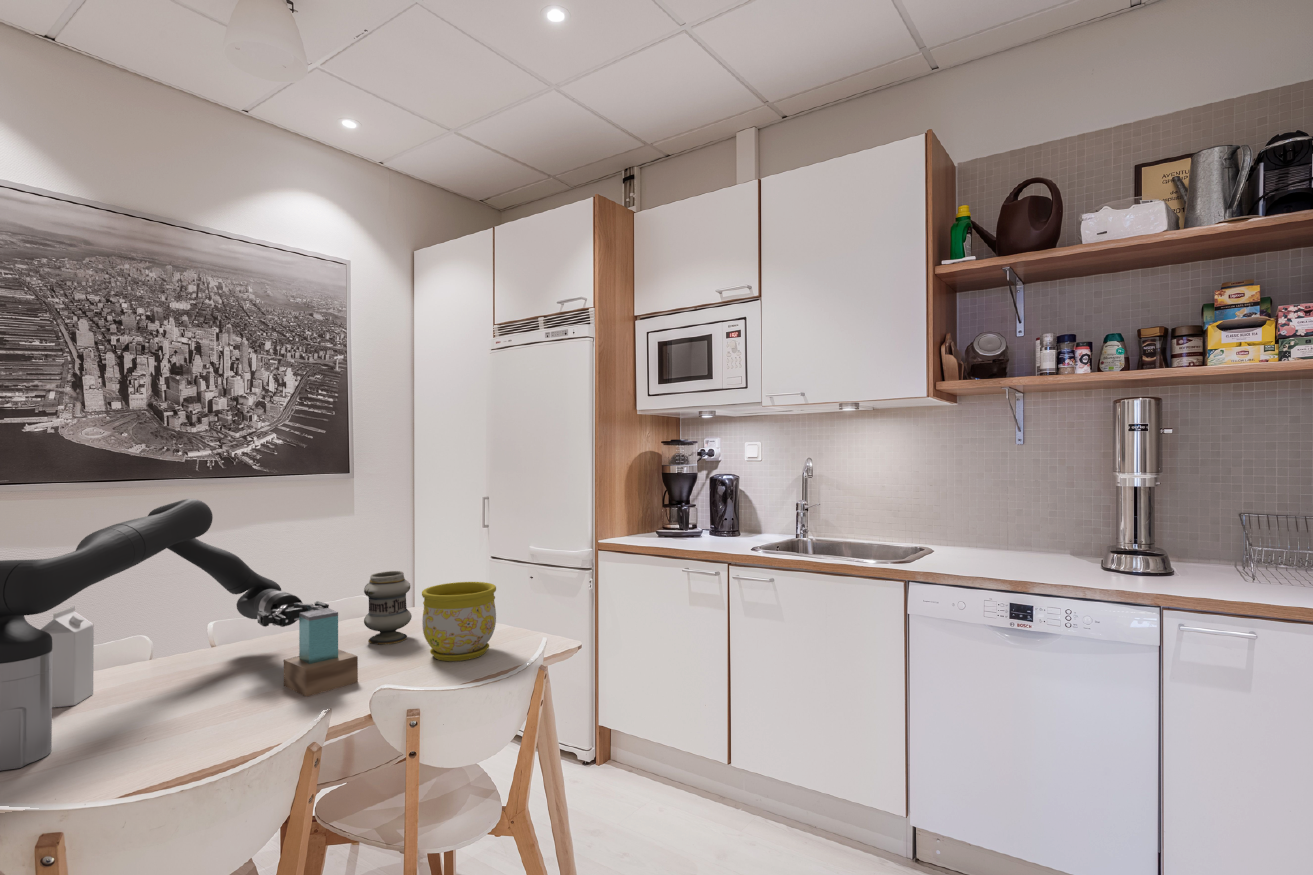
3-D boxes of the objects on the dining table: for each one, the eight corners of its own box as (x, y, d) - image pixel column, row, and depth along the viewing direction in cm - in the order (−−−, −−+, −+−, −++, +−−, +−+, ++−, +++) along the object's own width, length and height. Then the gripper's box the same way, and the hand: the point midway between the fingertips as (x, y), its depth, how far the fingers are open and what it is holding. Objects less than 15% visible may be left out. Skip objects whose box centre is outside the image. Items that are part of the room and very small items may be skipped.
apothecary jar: (353, 644, 176) (353, 576, 177) (382, 632, 188) (382, 568, 188) (393, 647, 173) (393, 578, 174) (420, 634, 185) (420, 570, 185)
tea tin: (338, 657, 146) (338, 612, 146) (309, 664, 142) (309, 617, 142) (327, 652, 150) (327, 607, 150) (299, 658, 146) (299, 612, 146)
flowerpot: (478, 666, 156) (478, 596, 157) (408, 663, 159) (407, 595, 159) (507, 644, 174) (507, 581, 174) (443, 642, 177) (443, 580, 177)
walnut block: (357, 683, 147) (357, 656, 147) (306, 698, 138) (306, 669, 138) (334, 673, 154) (334, 647, 154) (283, 687, 145) (283, 659, 145)
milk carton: (32, 710, 133) (32, 615, 133) (53, 697, 140) (54, 607, 140) (74, 706, 135) (74, 612, 135) (93, 694, 142) (94, 604, 142)
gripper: (247, 597, 158) (270, 607, 146) (311, 587, 168) (336, 596, 157) (247, 629, 157) (270, 641, 146) (311, 617, 168) (337, 628, 157)
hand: (304, 618), depth 152 cm, fingers open, 8 cm apart
